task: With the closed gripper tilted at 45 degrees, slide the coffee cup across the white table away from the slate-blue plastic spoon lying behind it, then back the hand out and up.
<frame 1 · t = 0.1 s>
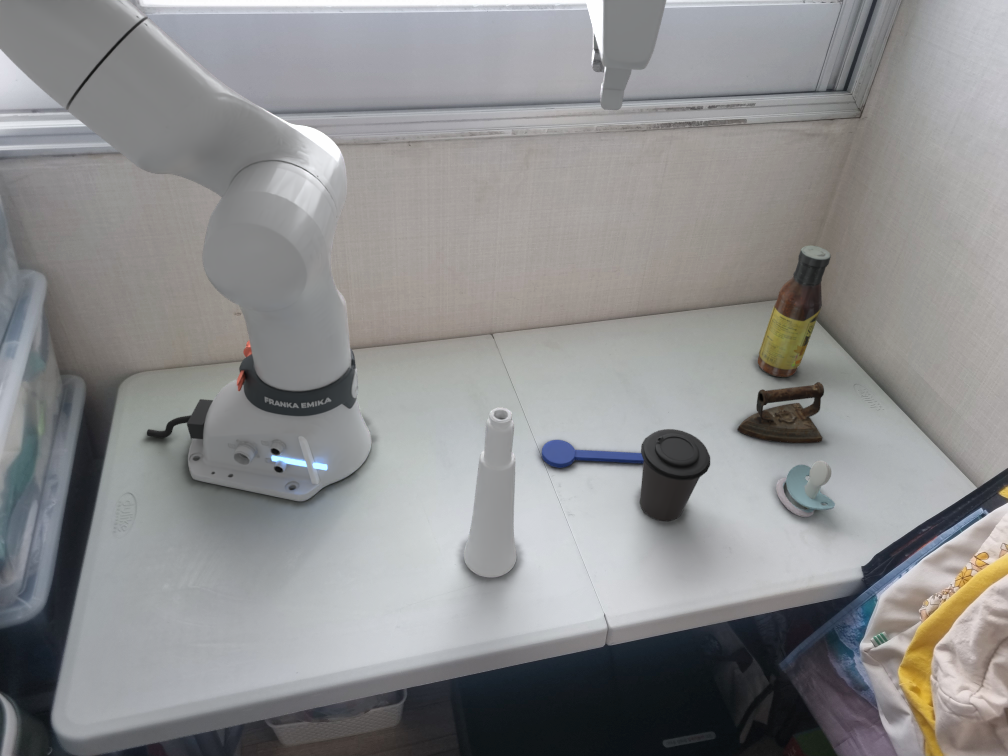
hand: (604, 87, 69), 48 cm above the table, tool pointing down, fingers open, 8 cm apart
clothes iron: (773, 428, 107), on the table
sauce bottle: (775, 366, 118), on the table
pacifier: (799, 499, 97), on the table
spoon: (592, 457, 100), on the table
cosmetic bottle: (490, 557, 88), on the table
coffee cup: (660, 505, 95), on the table
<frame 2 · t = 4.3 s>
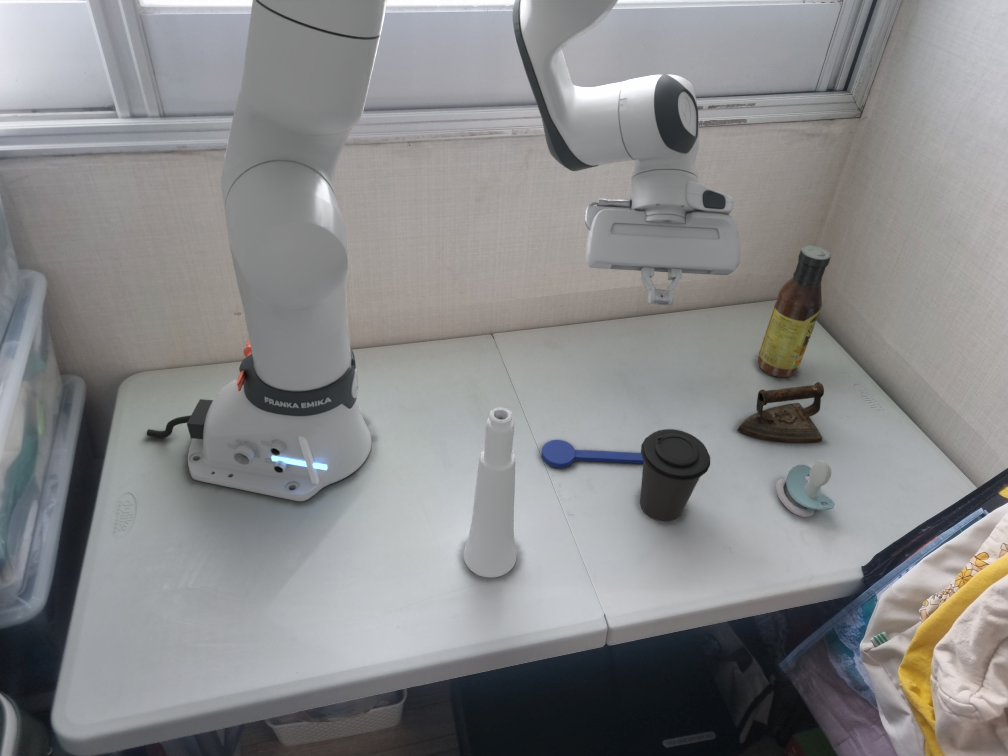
hand: (660, 304, 102), 15 cm above the table, tool tilted 45°, fingers closed
nothing on the table moved.
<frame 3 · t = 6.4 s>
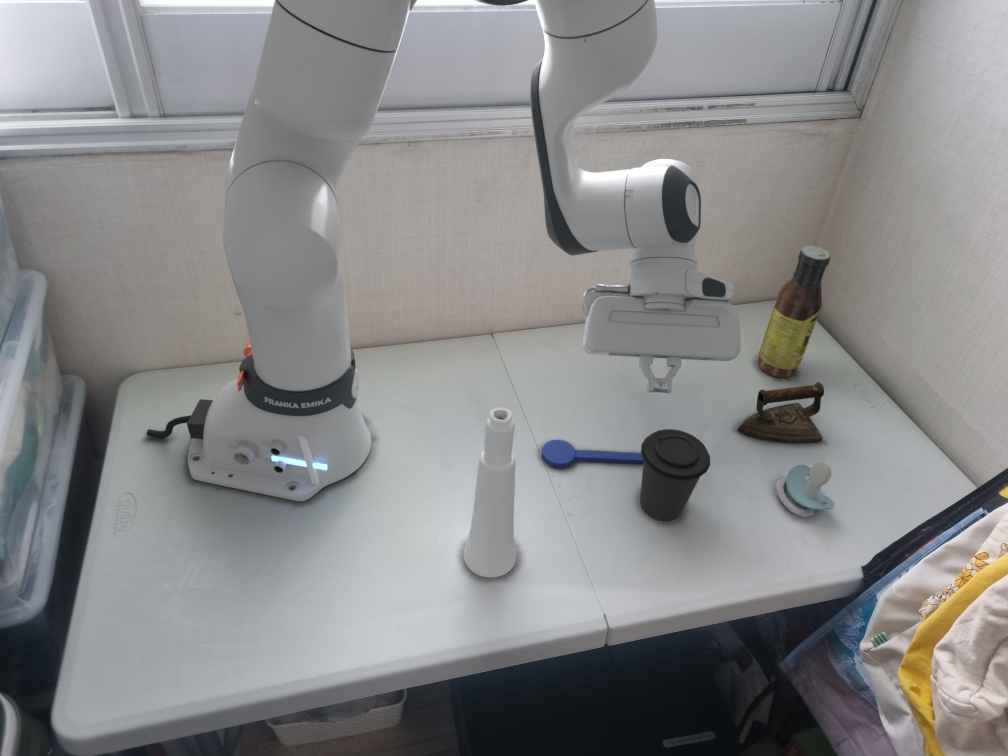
hand: (659, 392, 99), 8 cm above the table, tool tilted 45°, fingers closed
nothing on the table moved.
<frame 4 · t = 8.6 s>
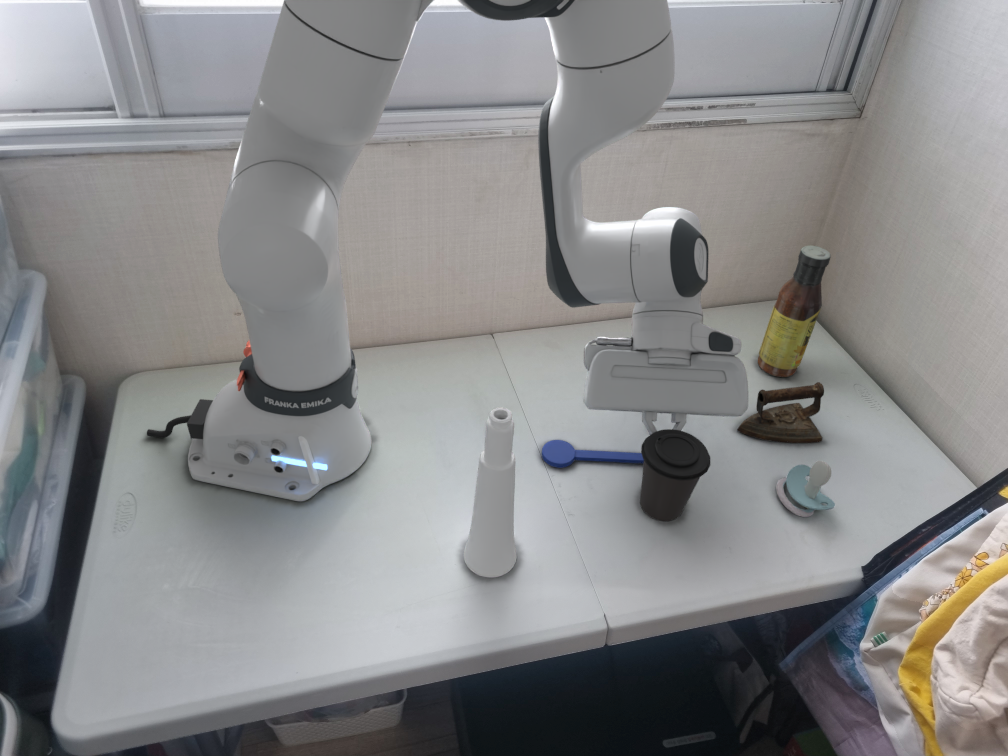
hand: (663, 450, 95), 5 cm above the table, tool tilted 45°, fingers closed, pressing on coffee cup
coffee cup: (661, 505, 95), on the table, touching gripper
everything else where it was.
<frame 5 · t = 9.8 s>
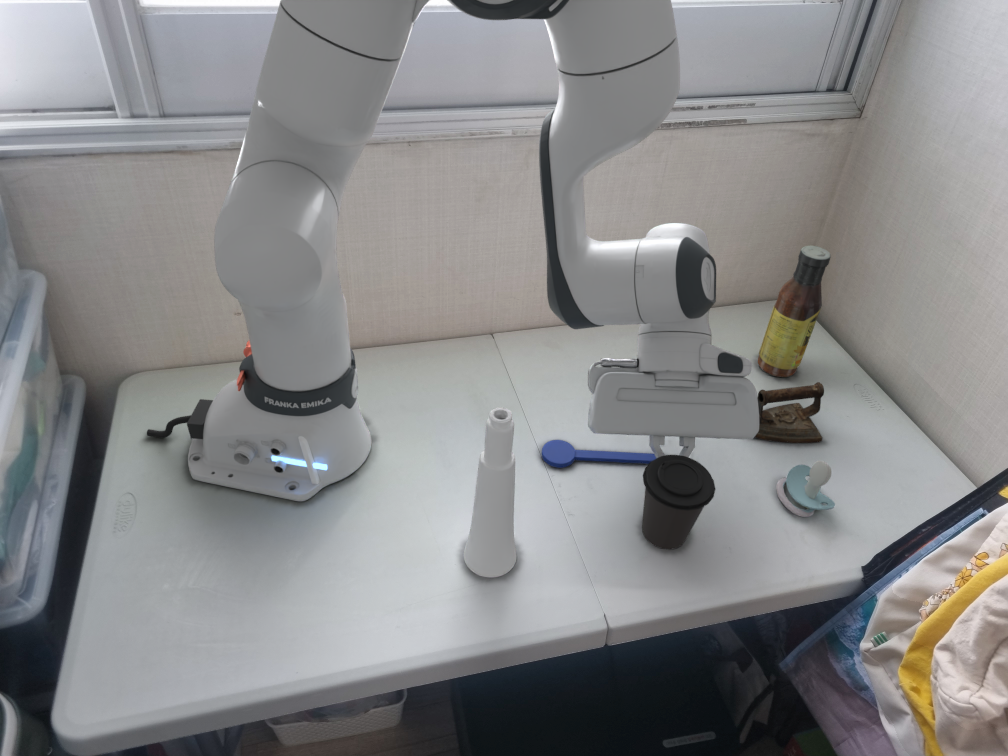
hand: (671, 475, 92), 5 cm above the table, tool tilted 45°, fingers closed, pressing on coffee cup
coffee cup: (663, 532, 92), on the table, touching gripper
everything else where it was.
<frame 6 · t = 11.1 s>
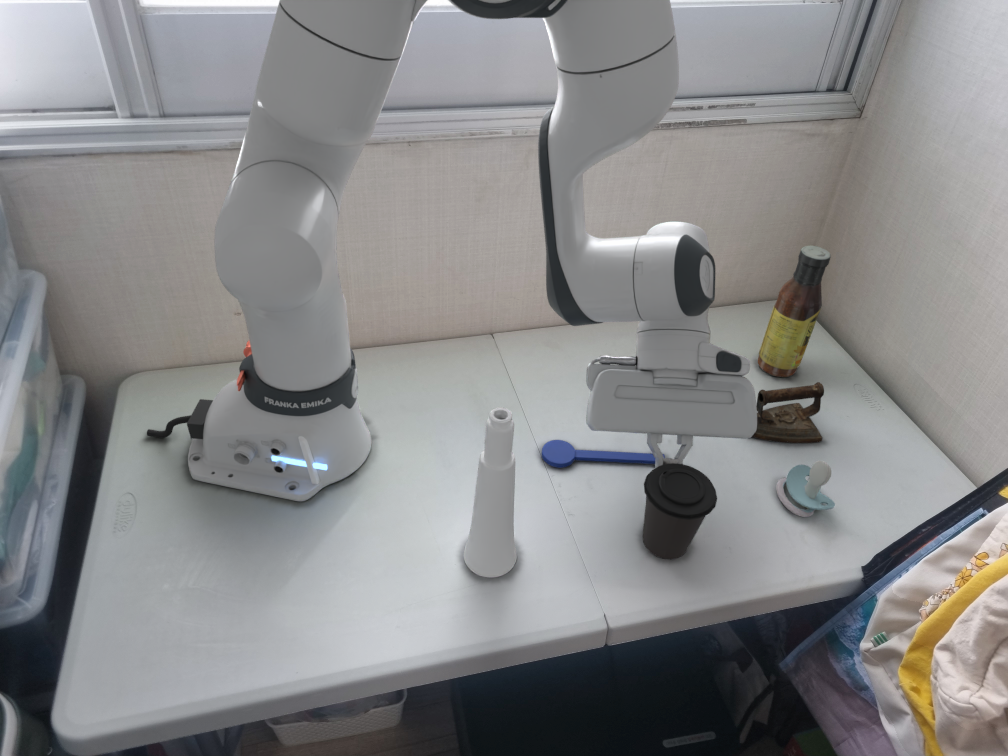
hand: (668, 473, 92), 5 cm above the table, tool tilted 45°, fingers closed
coffee cup: (664, 541, 91), on the table
everything else where it was.
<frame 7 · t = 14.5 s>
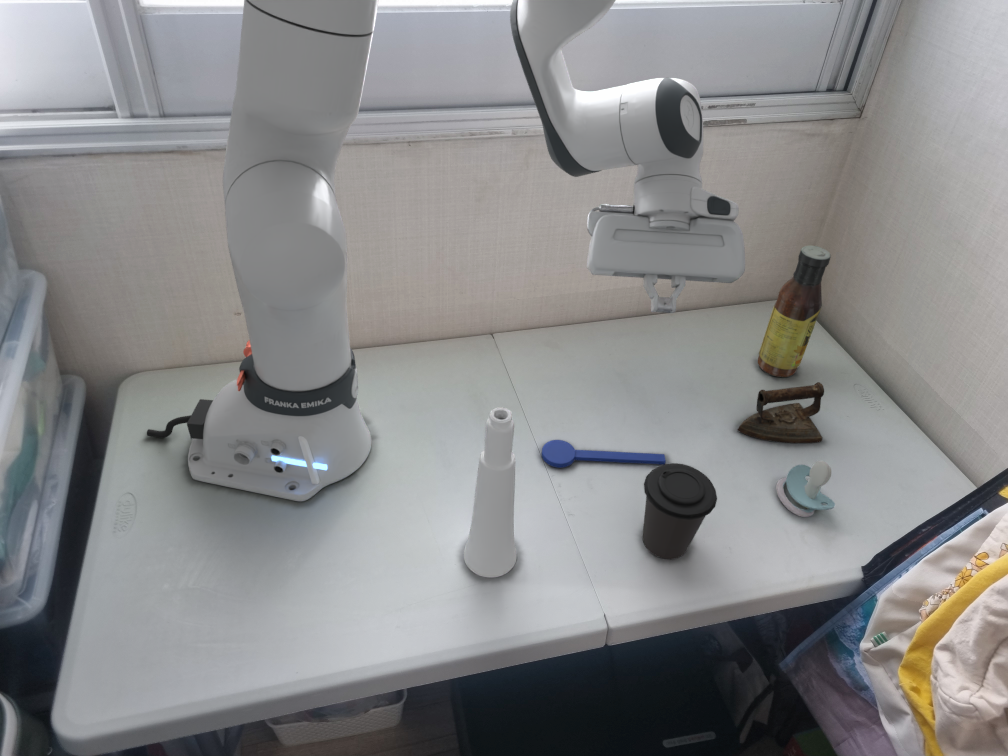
hand: (663, 312, 99), 16 cm above the table, tool tilted 45°, fingers closed
nothing on the table moved.
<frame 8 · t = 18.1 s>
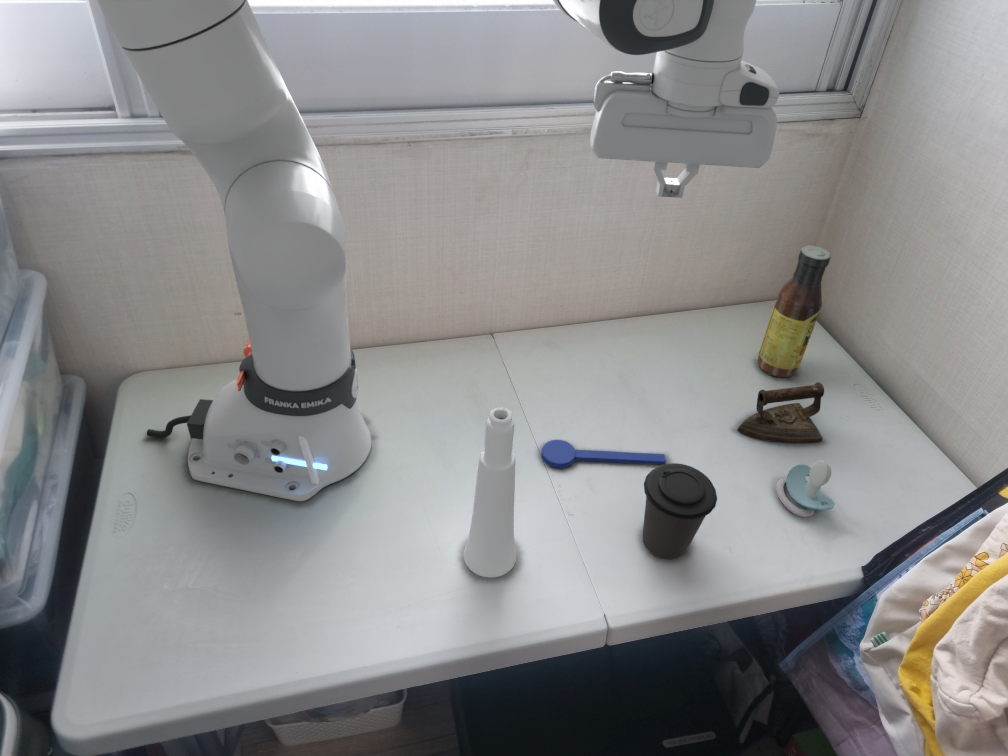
hand: (668, 195, 91), 31 cm above the table, tool pointing down, fingers closed
nothing on the table moved.
at the end: coffee cup inside the target area (1.5 cm from its centre), on the table; coffee cup tilted 0°; spoon moved 0.0 cm from its start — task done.
